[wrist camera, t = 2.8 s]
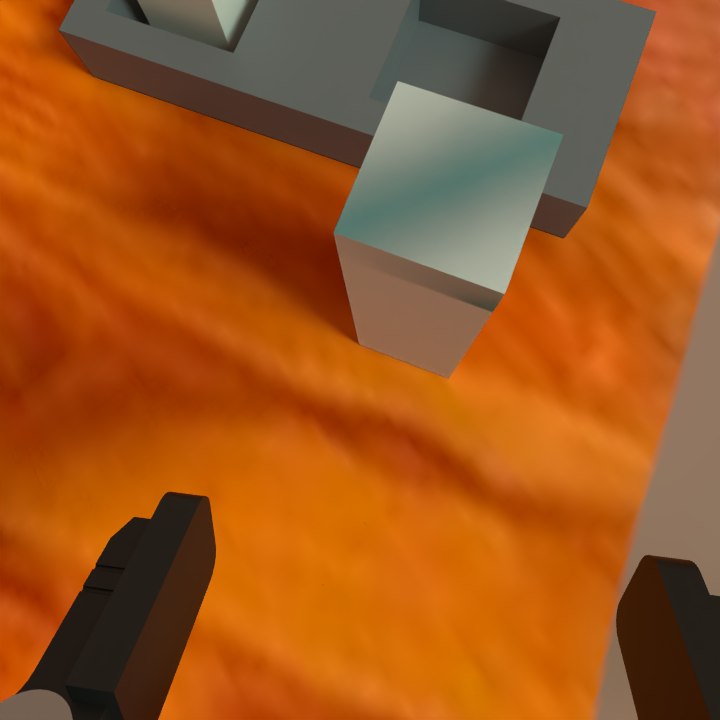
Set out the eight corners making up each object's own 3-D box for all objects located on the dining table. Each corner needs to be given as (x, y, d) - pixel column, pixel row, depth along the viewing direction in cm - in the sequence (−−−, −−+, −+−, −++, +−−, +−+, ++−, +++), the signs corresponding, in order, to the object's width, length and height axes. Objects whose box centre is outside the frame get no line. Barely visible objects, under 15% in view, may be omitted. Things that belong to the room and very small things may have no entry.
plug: (359, 344, 25) (333, 232, 13) (393, 260, 26) (397, 81, 14) (448, 378, 25) (504, 294, 13) (481, 291, 25) (563, 134, 13)
